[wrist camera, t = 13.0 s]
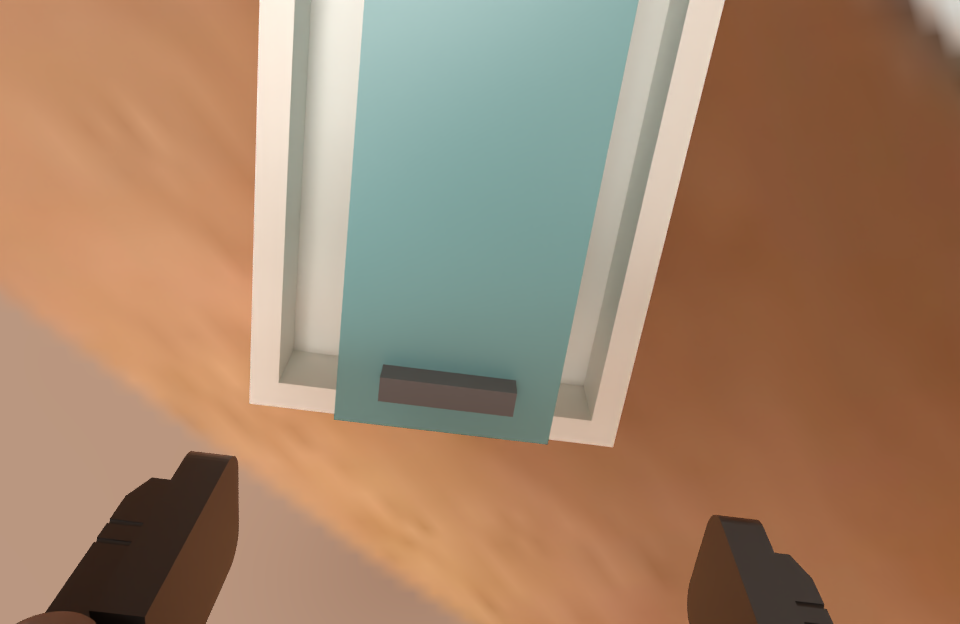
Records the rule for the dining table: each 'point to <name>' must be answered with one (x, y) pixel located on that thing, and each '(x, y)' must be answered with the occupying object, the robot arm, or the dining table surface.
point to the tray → (326, 197)
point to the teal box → (473, 207)
